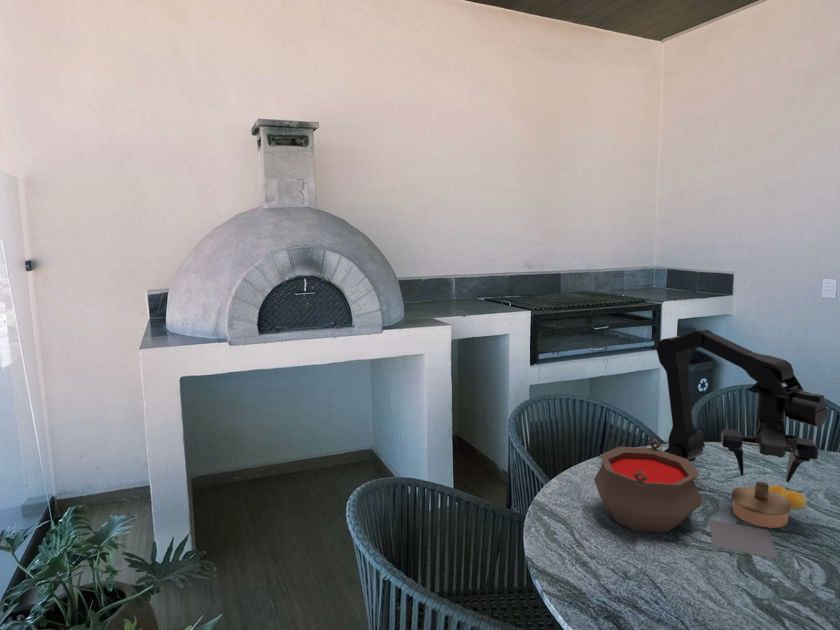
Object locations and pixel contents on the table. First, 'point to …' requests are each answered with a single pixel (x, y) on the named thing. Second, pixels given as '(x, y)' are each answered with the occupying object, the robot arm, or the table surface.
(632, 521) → the brown soup pot
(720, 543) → the mat
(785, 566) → the table surface
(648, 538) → the table surface
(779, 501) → the lid
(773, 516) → the bowl
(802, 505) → the bread roll
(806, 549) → the table surface
